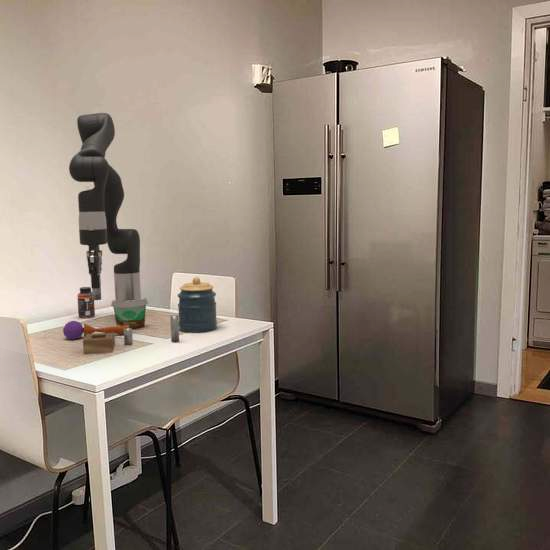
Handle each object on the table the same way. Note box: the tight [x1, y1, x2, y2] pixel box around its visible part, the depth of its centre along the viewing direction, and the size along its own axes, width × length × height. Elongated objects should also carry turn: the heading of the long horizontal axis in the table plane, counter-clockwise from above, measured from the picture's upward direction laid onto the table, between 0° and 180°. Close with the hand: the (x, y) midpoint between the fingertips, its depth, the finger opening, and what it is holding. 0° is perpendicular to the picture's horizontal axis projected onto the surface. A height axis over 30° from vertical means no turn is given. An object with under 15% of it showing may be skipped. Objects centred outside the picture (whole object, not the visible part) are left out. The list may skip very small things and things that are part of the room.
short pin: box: [123, 328, 134, 346], centre depth 167 cm, size 2×2×5 cm
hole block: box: [82, 332, 116, 355], centre depth 162 cm, size 8×8×4 cm
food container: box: [110, 297, 149, 331], centre depth 188 cm, size 12×6×10 cm, turn 114°
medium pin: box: [169, 314, 180, 343], centre depth 170 cm, size 2×2×8 cm
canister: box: [177, 276, 218, 333], centre depth 186 cm, size 13×13×18 cm
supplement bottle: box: [77, 286, 96, 319], centre depth 209 cm, size 6×6×11 cm
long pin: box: [91, 267, 102, 301], centre depth 159 cm, size 2×2×12 cm
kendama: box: [62, 320, 129, 340], centre depth 177 cm, size 6×6×20 cm
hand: (96, 287), depth 159 cm, fingers closed on long pin, 2 cm apart
